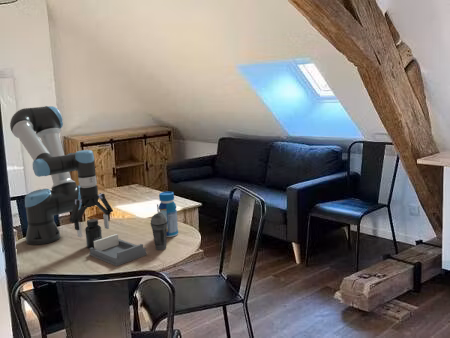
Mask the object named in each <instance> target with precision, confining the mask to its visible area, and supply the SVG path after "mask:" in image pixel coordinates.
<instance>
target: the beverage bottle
mask: <svg viewBox="0 0 450 338" xmlns="http://www.w3.org/2000/svg"><path fill="white" fill-rule="evenodd" d="M158 197H159V202H160V203H159V204H158V208H159V213H161V214H163V215H164V216H165V217H166V219H167V238H171V237H176V236H177V235H179V227H178V224H179V223H178V211H177V205H176V203H175V201H174V200H175V194H174V191H163V192H162V191H161V192H159V196H158Z"/></svg>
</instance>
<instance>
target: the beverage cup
mask: <svg viewBox="0 0 450 338" xmlns="http://www.w3.org/2000/svg"><path fill="white" fill-rule="evenodd" d="M156 208H157V213H155V214H154V215H152V216H151V219H150V226H151V230H152V235H153V241H154V246H155V250H156V251H164V250H166V249H167V238H168V237H167V219H166V217H165V216H164V215H163V214H161V213H159V211H160V210H159V203H158V204H156Z"/></svg>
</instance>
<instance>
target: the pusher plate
mask: <svg viewBox="0 0 450 338" xmlns="http://www.w3.org/2000/svg"><path fill="white" fill-rule="evenodd" d="M119 239H120V238H119V234H118V233H115V234H112V235H109V236H105V237H102V239H99V240H96V241H94V248H95V249H97V250H100V251H102V250H105V249H108V248H111V247H114V246H117V245H119Z"/></svg>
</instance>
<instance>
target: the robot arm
mask: <svg viewBox="0 0 450 338" xmlns="http://www.w3.org/2000/svg"><path fill="white" fill-rule="evenodd" d="M63 120H64V119H63V116H62V113H61V112H60V110H59V109H58V108H57V107H56V106H51V105H50V106H47V105H44V106H39V107H26V108H25V107H24V108H21V109H19V110H17V111H15V113H14V114H13V115H12V117H11V118H10V122H9V128H10V131H11V132H12V133H11V134H12V135H13V136H14V137H15V138H18V139H19V141H20V142H21V144H22V145H23V147H24V148H25V150H26V151H27V153H28V154H29V156H30V157H31V159H32V160H33V161H32V170H33V173H34V175H35V176H36V177H39V178H40V177H47V176H51V180H52V184H53V185H52V186H51V188H50V189H49V188H42V189H36V190H33V191H31V192H29V193H27V194H26V195H25V196H24V208H25V212H26V213H25V214H26V220H27V230H26V233H25V234H26V236H25V241H26V244H28V245H31V246H32V245H33V246H34V245H35V246H36V245H38V246H39V245H46V244H50V243H53V242H56V241H58V240H59V239H60V238H61V234H60V230H59V228H58V226H57V224H56V222H55V217H54V216H57V215H58V216H59V215H63V214H67V213H71V215H70V217H69V222H70V223H73V225H74V230H75V231H76V234H77V237H78V238H83V232H82V222H81V218H82V217H83V215H84V213H85V212H86V210H87V209H88V208H91V207H95V206H96V207H97V208H98V209H99V210H101V211H102V212H103V214H102V217H103V225H104V229H106V230H109V229H110V221H111V220H110V215H111V213H113V211H114V210H113V208H112V206H111V205H110V203H109V202H108V200H107V198H106V195H105V194H104V193H103V192H100V193H99V191H98V185H97V184H98V183H97V174H96V173H97V172H96V166H95V165H96V163H95V157H94V156H95V155H94V151H93V150H92V149H85V150H83V149H82V150H78V151H77V150H76V152H71V153H68V154H65V152H64V149H63V144H62V141H61V138H60V133H61V131H62V130H61V129H62V128H63V127H64V122H63ZM70 172H77V179H78V185H77V183H76V181H75V180H73V179H72V177H71V173H70ZM98 193H99V194H98ZM99 199H100V201H101V202H102V204H103V205H102V204H101V203H100V201H99Z"/></svg>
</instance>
